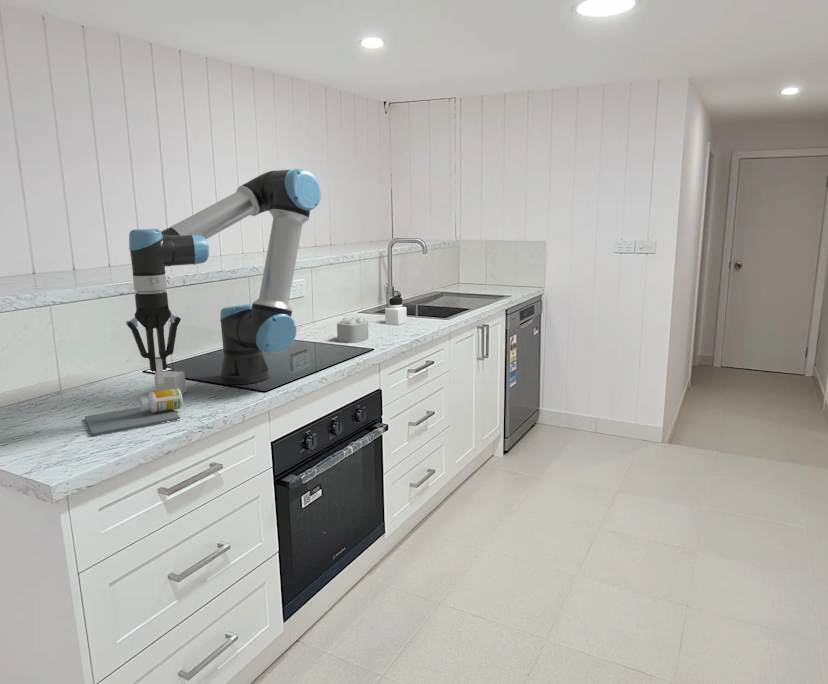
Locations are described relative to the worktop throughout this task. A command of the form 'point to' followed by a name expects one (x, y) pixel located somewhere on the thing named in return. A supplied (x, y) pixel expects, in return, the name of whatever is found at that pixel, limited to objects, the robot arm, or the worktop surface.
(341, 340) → the lumpy-topped squat cylinder
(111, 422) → the rubber mat
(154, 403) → the supplement bottle
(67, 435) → the worktop surface
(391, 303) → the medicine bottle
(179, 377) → the grey cube
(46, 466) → the worktop surface
